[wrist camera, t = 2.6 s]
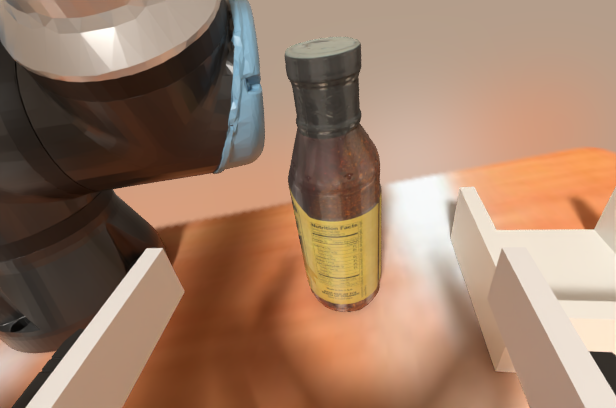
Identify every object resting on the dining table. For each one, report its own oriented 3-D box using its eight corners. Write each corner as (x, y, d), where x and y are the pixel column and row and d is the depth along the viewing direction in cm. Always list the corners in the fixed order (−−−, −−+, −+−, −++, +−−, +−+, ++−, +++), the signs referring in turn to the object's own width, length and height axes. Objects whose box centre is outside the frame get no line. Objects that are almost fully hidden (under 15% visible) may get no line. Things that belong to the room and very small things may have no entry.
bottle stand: (736, 385, 20) (815, 326, 16) (495, 371, 22) (518, 316, 18) (604, 237, 30) (634, 182, 27) (450, 238, 32) (459, 187, 29)
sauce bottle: (329, 253, 33) (305, 31, 21) (390, 273, 30) (402, 28, 18) (294, 303, 28) (240, 57, 17) (362, 332, 25) (354, 57, 14)
